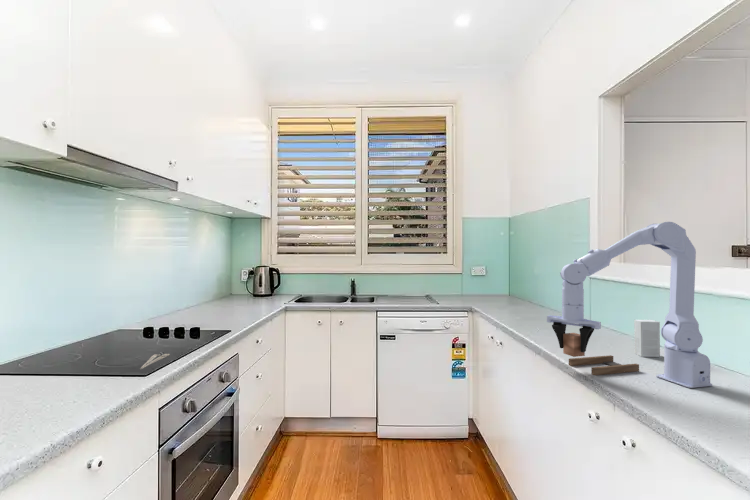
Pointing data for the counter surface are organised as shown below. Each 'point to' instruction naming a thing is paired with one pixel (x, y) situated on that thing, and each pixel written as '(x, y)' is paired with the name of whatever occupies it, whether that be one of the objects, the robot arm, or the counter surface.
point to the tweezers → (155, 359)
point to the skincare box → (647, 338)
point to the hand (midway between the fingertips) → (572, 349)
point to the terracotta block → (572, 344)
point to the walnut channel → (603, 370)
